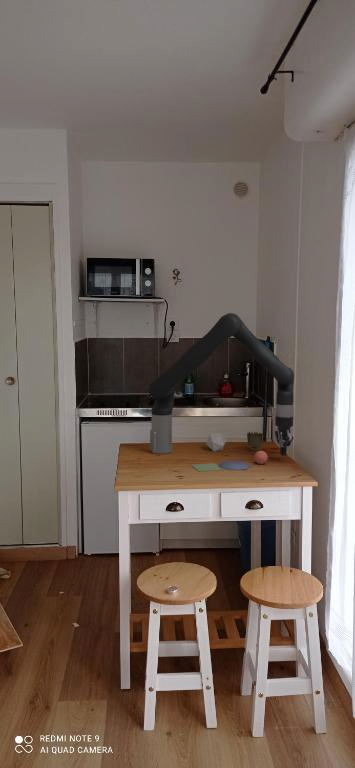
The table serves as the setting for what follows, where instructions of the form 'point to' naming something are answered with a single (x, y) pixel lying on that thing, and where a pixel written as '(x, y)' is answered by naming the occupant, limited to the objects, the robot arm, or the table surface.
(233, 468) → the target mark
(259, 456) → the ball
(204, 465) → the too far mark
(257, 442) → the cup
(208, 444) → the die
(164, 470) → the table surface
